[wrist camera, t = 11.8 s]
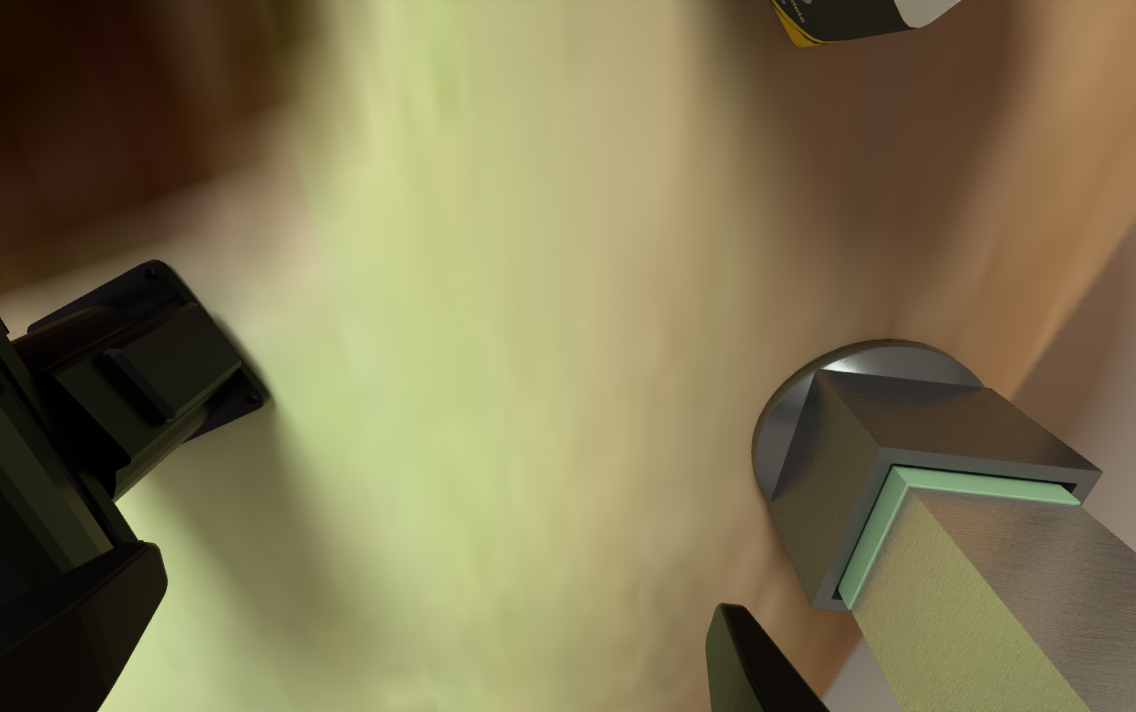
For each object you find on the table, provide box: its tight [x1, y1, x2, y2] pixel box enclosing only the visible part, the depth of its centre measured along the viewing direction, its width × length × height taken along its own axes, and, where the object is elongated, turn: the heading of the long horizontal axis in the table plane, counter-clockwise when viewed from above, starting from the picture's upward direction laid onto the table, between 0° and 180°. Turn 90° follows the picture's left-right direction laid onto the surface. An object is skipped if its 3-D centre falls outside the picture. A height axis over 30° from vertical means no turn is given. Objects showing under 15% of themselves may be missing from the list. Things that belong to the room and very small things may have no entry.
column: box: [838, 463, 1136, 712], centre depth 13 cm, size 5×5×12 cm
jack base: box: [751, 339, 1103, 612], centre depth 20 cm, size 9×9×6 cm
